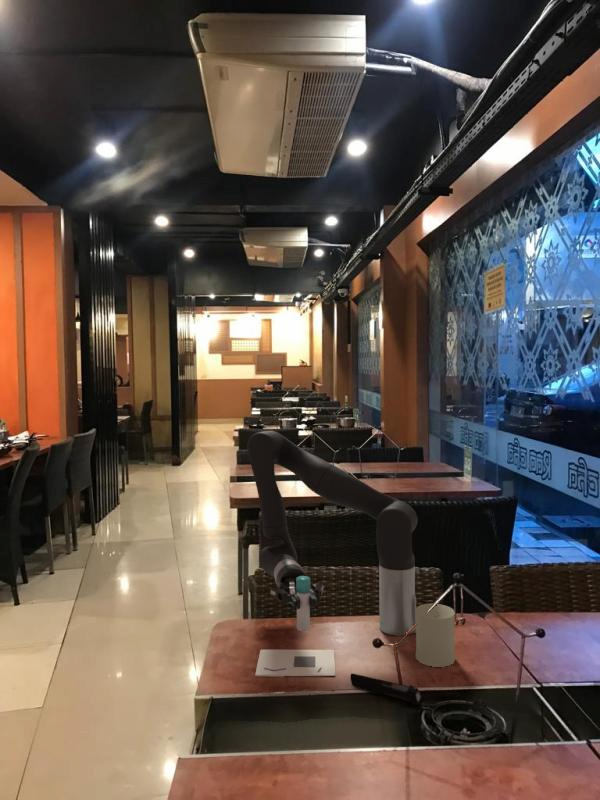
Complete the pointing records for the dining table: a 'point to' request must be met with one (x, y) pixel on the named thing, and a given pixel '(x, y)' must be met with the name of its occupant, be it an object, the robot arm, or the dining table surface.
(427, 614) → the can
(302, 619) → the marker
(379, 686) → the electric trimmer
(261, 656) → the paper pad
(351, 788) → the dining table surface
